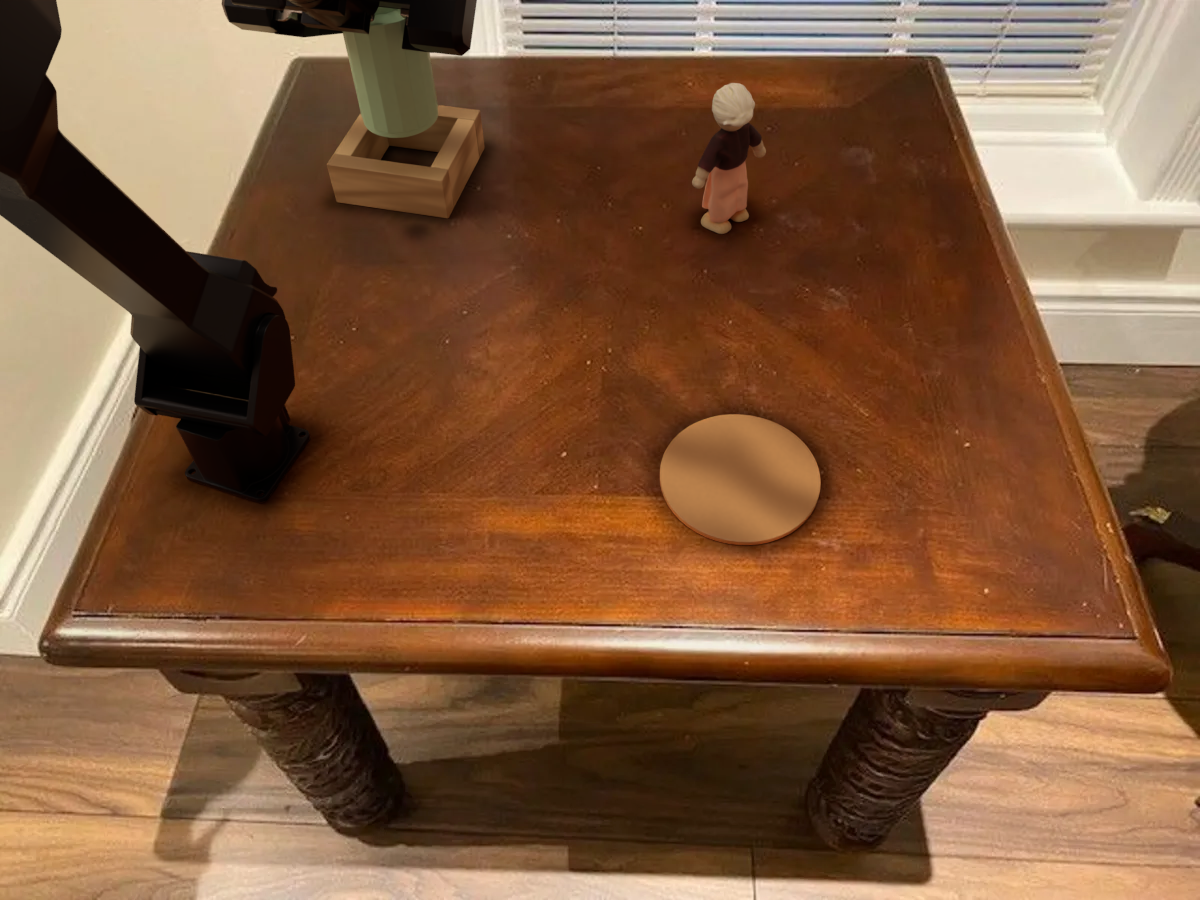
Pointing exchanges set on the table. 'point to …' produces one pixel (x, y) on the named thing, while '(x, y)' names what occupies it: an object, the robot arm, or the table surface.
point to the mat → (740, 479)
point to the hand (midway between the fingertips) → (392, 29)
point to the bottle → (391, 78)
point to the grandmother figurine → (728, 159)
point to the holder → (409, 165)
